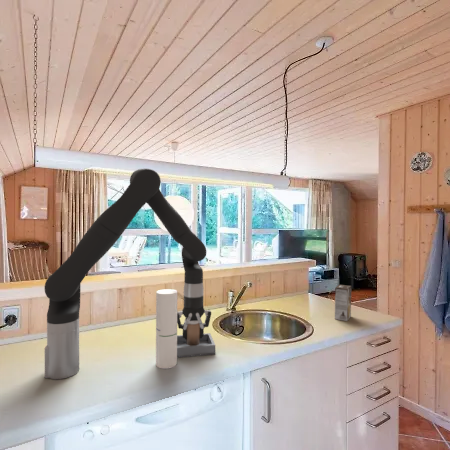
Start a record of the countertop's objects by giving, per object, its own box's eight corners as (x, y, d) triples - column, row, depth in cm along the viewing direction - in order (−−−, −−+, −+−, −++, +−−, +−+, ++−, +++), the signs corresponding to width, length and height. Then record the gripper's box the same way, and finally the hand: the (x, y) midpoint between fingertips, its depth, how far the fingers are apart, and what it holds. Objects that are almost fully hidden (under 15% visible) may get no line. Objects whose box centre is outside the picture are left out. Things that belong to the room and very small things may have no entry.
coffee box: (338, 314, 165) (338, 284, 164) (351, 316, 161) (351, 285, 161) (334, 319, 157) (334, 287, 156) (347, 321, 153) (348, 289, 153)
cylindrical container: (167, 356, 112) (168, 288, 112) (181, 362, 108) (181, 291, 107) (151, 364, 107) (151, 291, 106) (165, 370, 102) (165, 295, 102)
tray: (174, 357, 112) (174, 348, 112) (172, 344, 124) (172, 335, 123) (215, 354, 115) (215, 345, 115) (210, 341, 127) (210, 333, 127)
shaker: (186, 346, 116) (187, 322, 116) (185, 340, 121) (185, 317, 121) (200, 345, 117) (200, 321, 117) (198, 339, 122) (199, 317, 122)
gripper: (175, 297, 114) (174, 343, 114) (213, 295, 116) (213, 340, 117) (174, 292, 121) (173, 335, 121) (210, 291, 124) (210, 333, 124)
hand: (193, 338), depth 119 cm, fingers closed on shaker, 5 cm apart
